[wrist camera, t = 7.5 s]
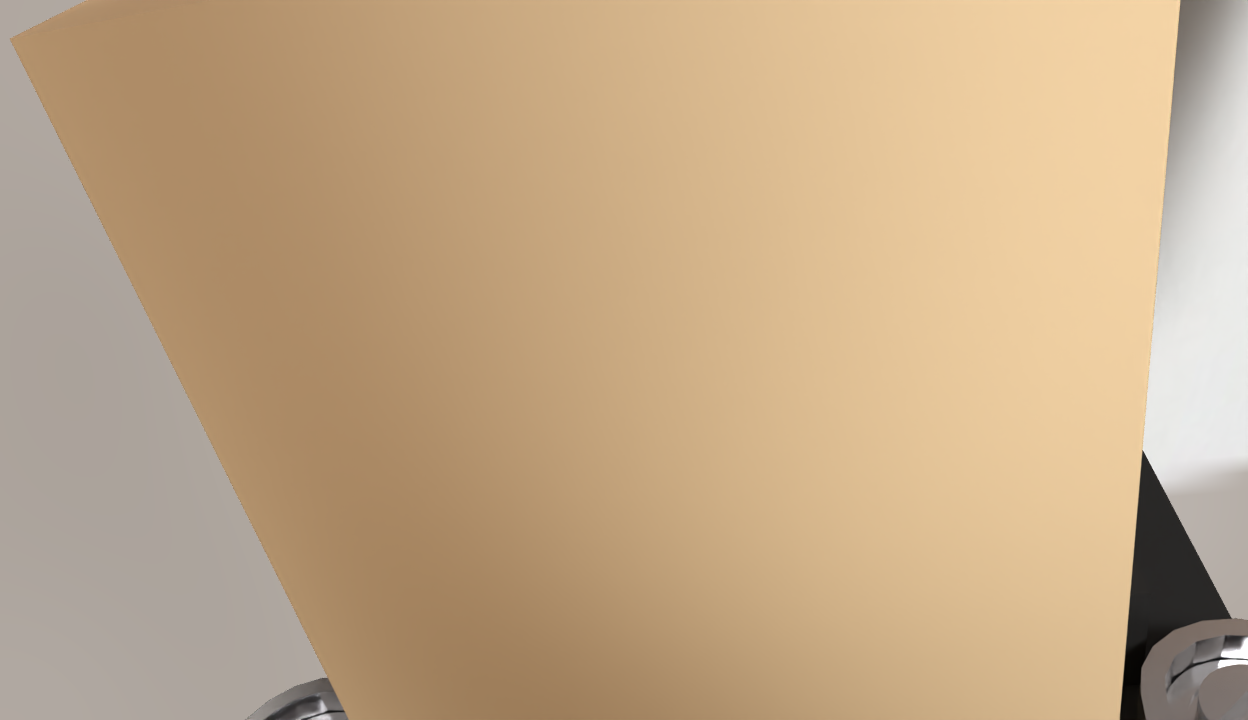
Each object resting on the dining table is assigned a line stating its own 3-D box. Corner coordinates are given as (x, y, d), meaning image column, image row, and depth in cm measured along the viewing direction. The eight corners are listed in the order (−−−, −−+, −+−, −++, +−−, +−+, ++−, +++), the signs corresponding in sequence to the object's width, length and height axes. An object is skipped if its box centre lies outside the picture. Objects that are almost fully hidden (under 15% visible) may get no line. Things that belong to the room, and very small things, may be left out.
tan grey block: (849, -289, 11) (1197, -187, 3) (906, 548, 17) (1066, 1354, 9) (523, -219, 12) (10, 40, 3) (690, 565, 18) (654, 1332, 10)
